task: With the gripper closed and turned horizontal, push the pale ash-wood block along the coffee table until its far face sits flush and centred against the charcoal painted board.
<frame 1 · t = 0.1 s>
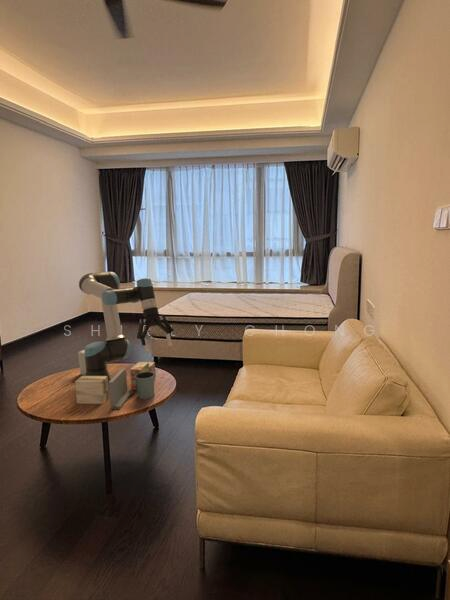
hand: (159, 348, 196), 28 cm above the table, tool tilted 20°, fingers open, 13 cm apart
ash block: (93, 400, 203), on the table
stop board: (119, 400, 202), on the table
stack of blocks: (144, 383, 226), on the table
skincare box: (87, 374, 243), on the table
green cup: (146, 396, 207), on the table
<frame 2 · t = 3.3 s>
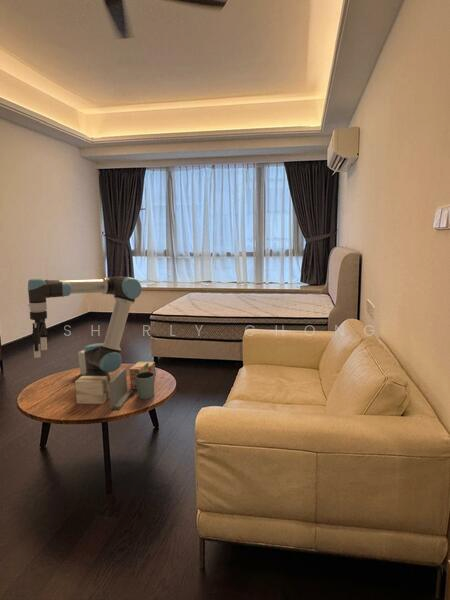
hand: (41, 353, 190), 28 cm above the table, tool pointing down, fingers open, 13 cm apart
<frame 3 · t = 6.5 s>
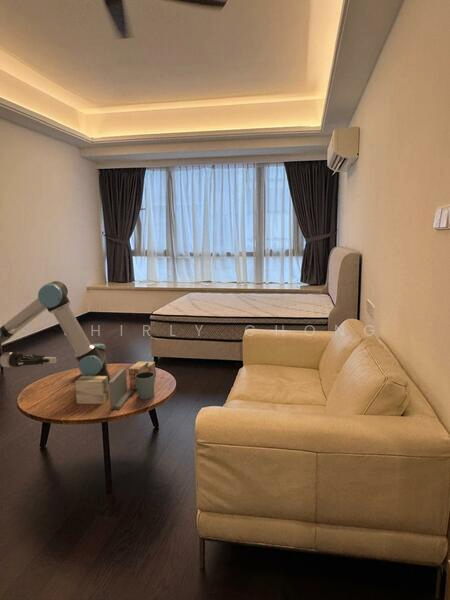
hand: (55, 360, 200), 22 cm above the table, tool horizontal, fingers closed
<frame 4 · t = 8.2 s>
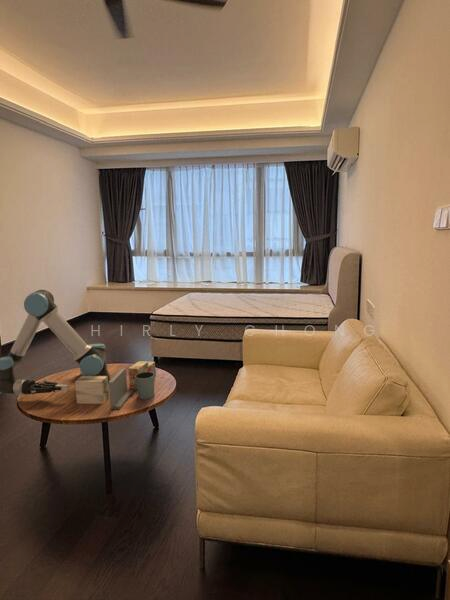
hand: (68, 387, 202), 7 cm above the table, tool horizontal, fingers closed
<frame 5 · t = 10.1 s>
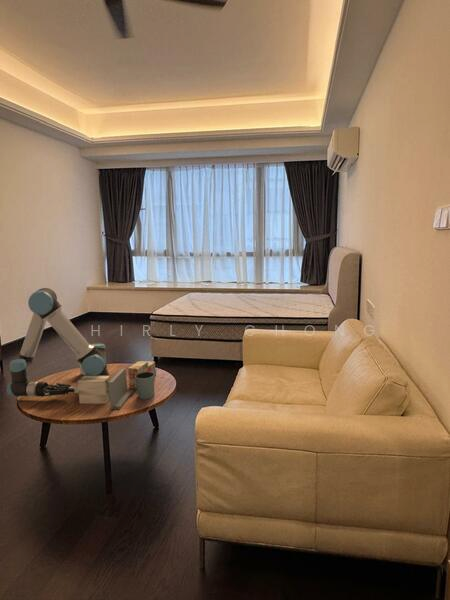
hand: (81, 389, 202), 6 cm above the table, tool horizontal, fingers closed
ash block: (95, 400, 203), on the table, touching gripper
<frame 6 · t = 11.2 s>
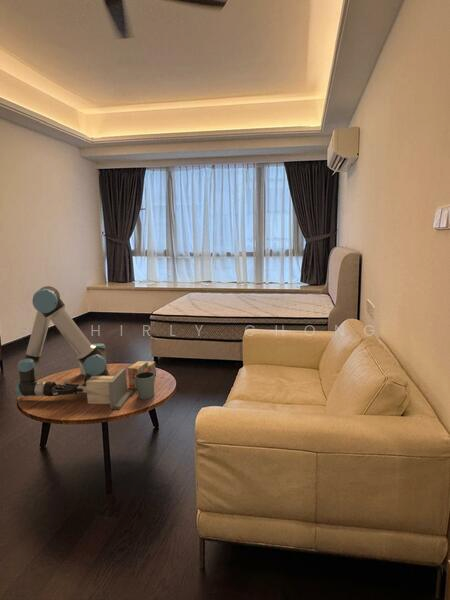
hand: (89, 389, 202), 6 cm above the table, tool horizontal, fingers closed
ash block: (104, 400, 202), on the table, touching gripper
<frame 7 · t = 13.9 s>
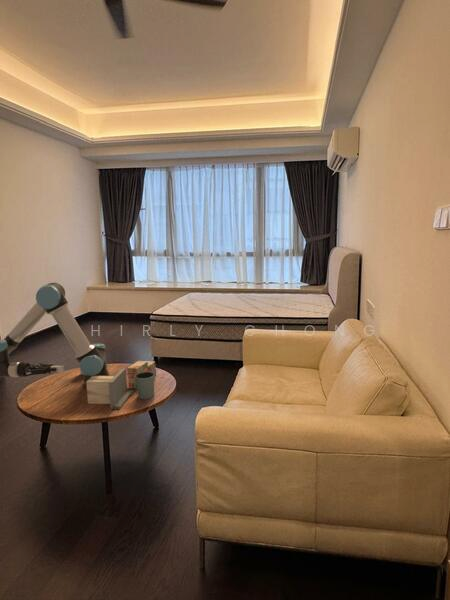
hand: (63, 368, 201), 17 cm above the table, tool horizontal, fingers closed
ash block: (104, 400, 202), on the table
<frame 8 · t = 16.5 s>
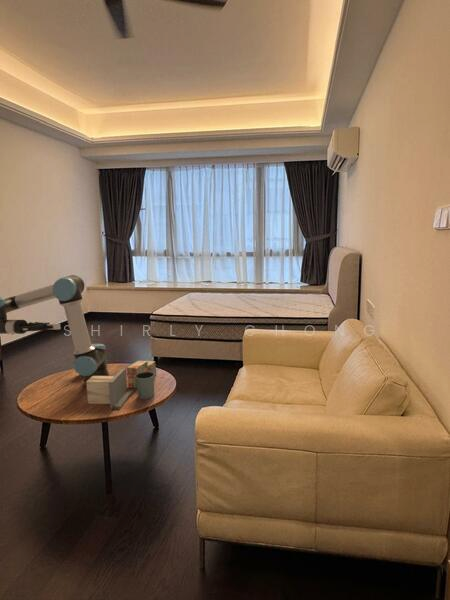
hand: (59, 326, 205), 38 cm above the table, tool horizontal, fingers closed
at the end: ash block 0.3 cm from the target spot on the table beside the stop board, on the table; ash block tilted 0° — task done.
